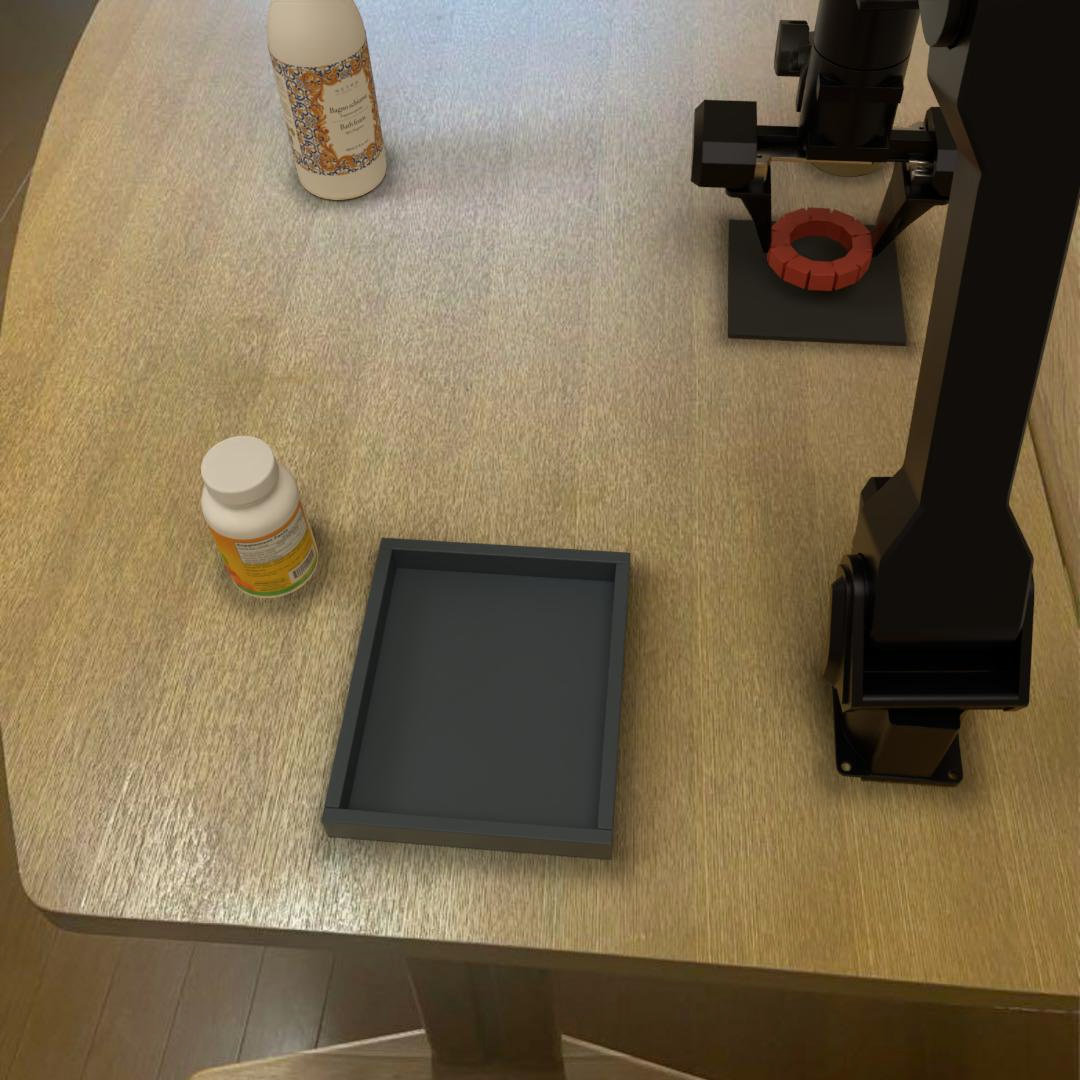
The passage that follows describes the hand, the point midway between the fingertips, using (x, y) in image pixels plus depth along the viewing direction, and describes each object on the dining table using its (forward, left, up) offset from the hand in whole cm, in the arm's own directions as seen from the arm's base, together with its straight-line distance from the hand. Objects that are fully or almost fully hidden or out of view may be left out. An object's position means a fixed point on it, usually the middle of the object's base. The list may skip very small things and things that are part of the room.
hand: (819, 250), depth 82 cm
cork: (+15, -3, -3) cm, 16 cm away
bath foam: (+10, +36, -3) cm, 37 cm away
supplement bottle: (-27, +33, -3) cm, 43 cm away
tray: (-35, +19, -3) cm, 40 cm away
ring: (0, 0, 0) cm, 0 cm away
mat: (0, 0, -3) cm, 3 cm away
